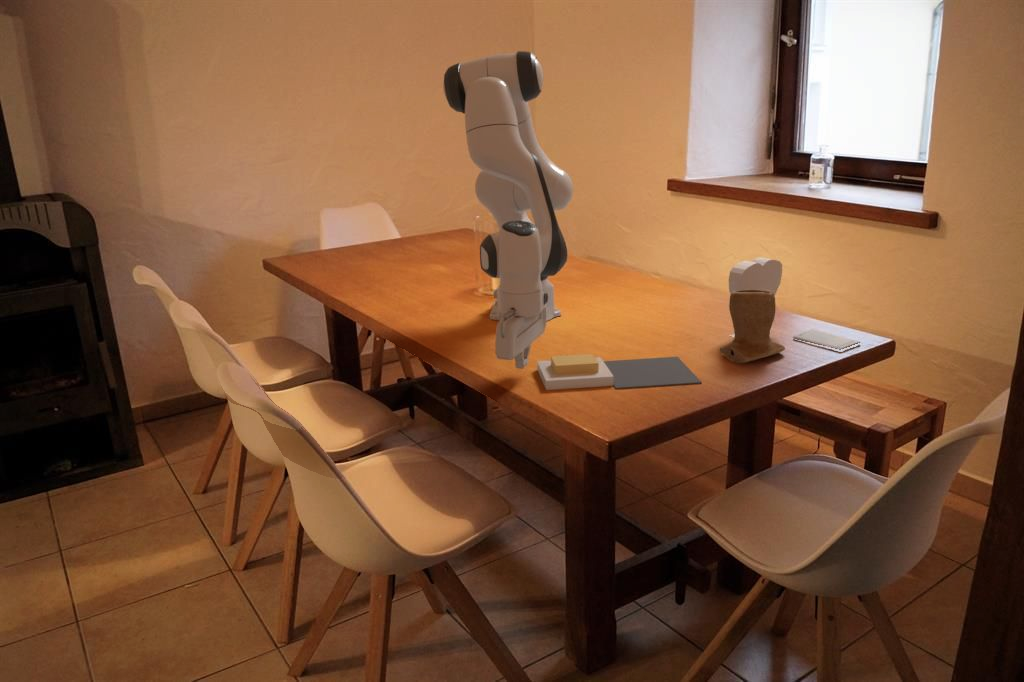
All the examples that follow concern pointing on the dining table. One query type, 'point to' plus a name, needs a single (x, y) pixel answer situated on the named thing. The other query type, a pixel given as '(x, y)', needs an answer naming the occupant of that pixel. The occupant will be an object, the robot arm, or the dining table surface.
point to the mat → (650, 372)
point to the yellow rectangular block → (574, 364)
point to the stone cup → (751, 326)
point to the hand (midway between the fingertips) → (521, 366)
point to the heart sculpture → (756, 275)
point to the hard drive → (825, 339)
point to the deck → (574, 377)
